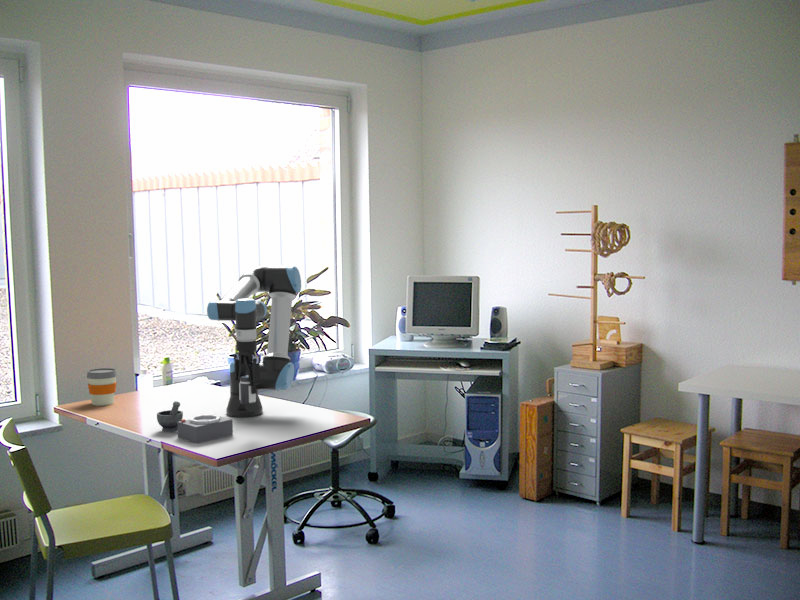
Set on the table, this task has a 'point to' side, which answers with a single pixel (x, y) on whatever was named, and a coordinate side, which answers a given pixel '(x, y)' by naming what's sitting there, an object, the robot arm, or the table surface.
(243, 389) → the lens
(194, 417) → the dark grey box
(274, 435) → the table surface
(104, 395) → the reusable coffee cup
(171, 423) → the mortar and pestle
